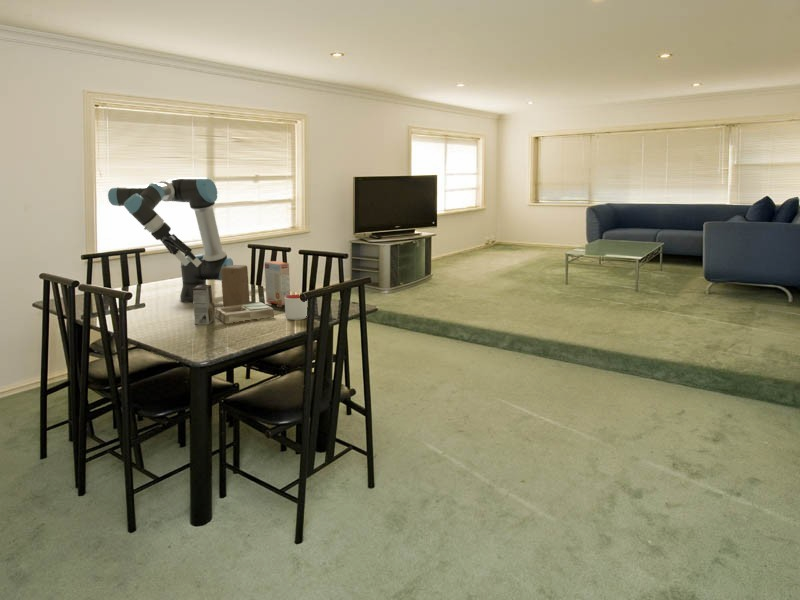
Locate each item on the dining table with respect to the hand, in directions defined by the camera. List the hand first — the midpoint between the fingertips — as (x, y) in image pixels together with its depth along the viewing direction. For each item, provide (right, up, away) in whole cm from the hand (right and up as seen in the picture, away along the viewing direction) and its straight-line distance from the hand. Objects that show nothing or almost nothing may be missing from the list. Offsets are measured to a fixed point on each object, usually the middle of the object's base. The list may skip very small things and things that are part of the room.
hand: (193, 264), depth 253 cm
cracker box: (+28, -17, +45) cm, 55 cm away
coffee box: (+3, -25, +6) cm, 26 cm away
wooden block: (+8, -19, +38) cm, 43 cm away
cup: (+43, -24, +12) cm, 50 cm away
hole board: (+18, -23, +15) cm, 33 cm away
